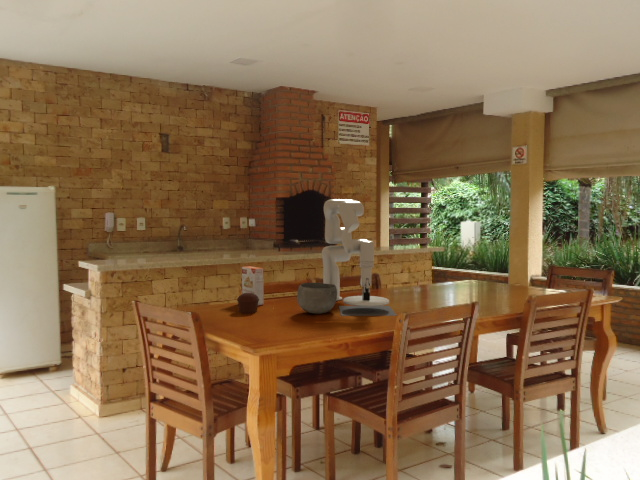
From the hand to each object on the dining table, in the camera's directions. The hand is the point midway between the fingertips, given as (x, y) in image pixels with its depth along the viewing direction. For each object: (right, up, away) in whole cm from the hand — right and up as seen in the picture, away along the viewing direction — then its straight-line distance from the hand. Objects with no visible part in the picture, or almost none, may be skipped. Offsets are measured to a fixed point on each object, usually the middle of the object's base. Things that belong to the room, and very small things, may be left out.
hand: (366, 298), depth 311 cm
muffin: (-62, -7, -1) cm, 62 cm away
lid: (0, -2, 0) cm, 2 cm away
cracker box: (-62, -5, +24) cm, 67 cm away
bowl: (-26, -7, -5) cm, 27 cm away
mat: (0, -7, 0) cm, 7 cm away
